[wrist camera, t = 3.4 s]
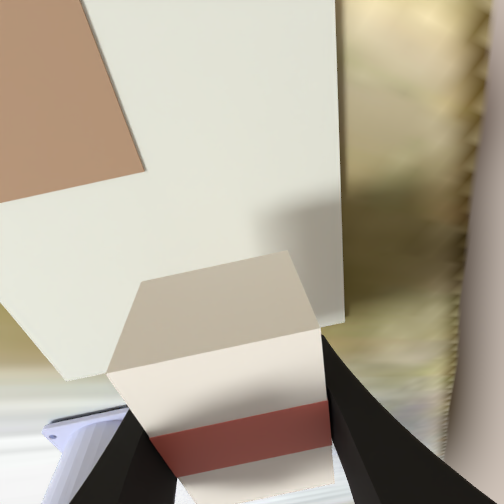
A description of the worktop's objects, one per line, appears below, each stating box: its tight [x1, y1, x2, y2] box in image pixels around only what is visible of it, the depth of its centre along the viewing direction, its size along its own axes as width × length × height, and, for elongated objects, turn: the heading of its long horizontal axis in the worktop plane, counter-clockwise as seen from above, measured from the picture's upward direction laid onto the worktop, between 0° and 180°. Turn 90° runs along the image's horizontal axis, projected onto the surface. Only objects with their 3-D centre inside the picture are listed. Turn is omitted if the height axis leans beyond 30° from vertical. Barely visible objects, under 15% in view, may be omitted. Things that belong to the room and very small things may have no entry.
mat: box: [0, 0, 345, 381], centre depth 13 cm, size 22×18×1 cm
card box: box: [106, 250, 335, 504], centre depth 10 cm, size 8×5×4 cm, turn 11°
